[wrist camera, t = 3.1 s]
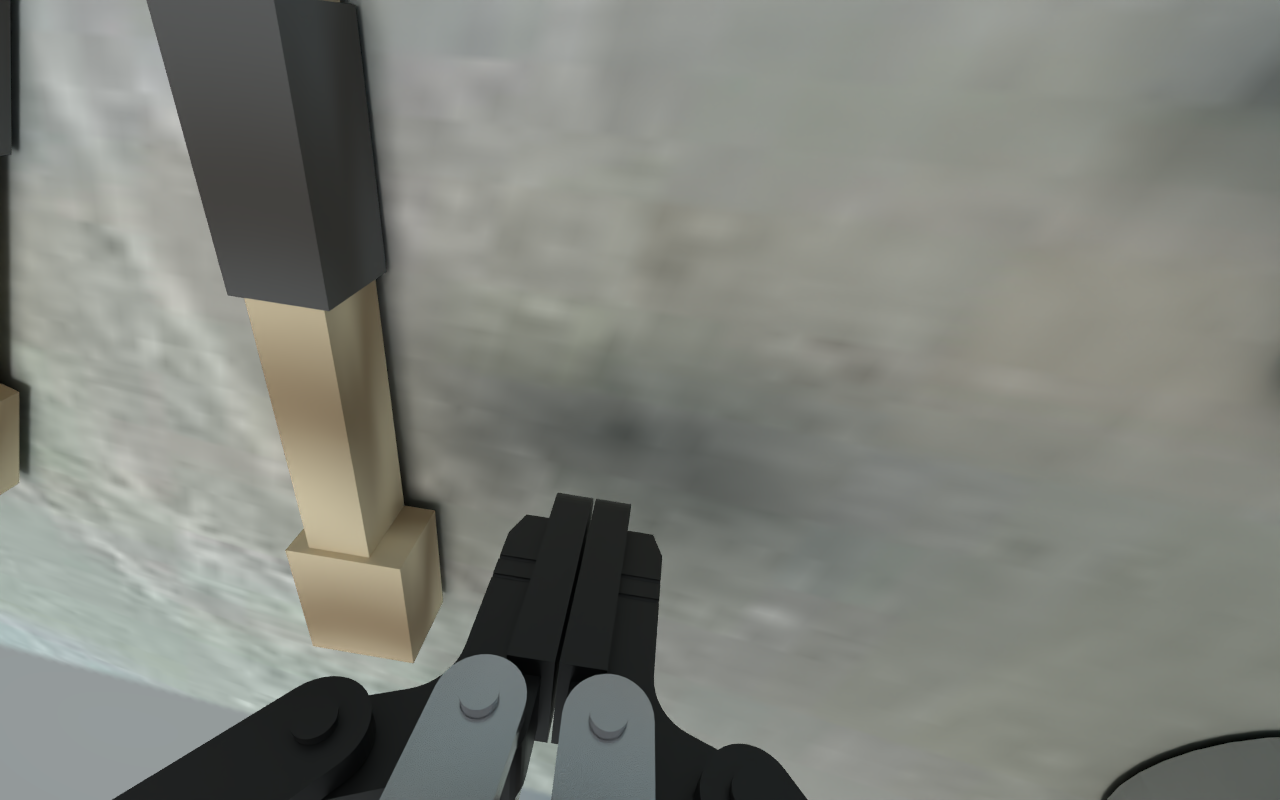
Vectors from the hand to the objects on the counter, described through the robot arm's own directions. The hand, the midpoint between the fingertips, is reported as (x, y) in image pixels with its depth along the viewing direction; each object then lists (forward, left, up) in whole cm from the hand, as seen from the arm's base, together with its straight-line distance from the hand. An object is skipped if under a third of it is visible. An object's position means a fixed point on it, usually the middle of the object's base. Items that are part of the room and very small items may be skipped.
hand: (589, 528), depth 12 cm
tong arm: (+6, +1, -3) cm, 7 cm away
